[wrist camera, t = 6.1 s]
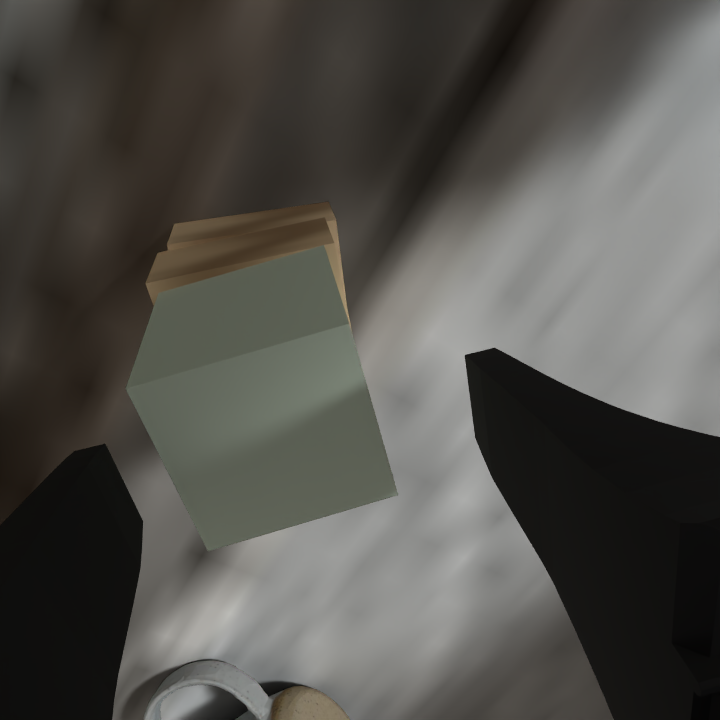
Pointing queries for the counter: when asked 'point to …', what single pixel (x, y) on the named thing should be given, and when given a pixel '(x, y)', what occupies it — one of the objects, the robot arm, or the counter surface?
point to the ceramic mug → (248, 694)
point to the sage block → (260, 400)
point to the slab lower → (252, 226)
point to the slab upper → (240, 255)
